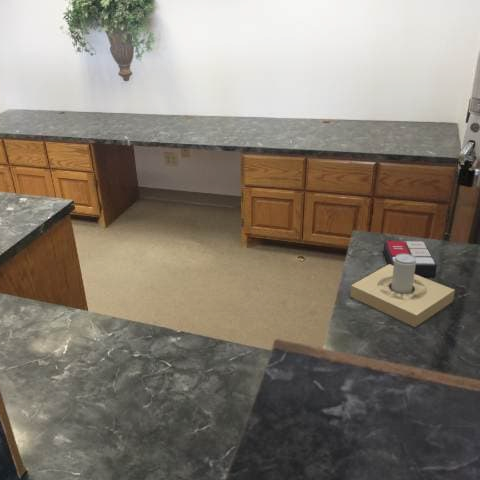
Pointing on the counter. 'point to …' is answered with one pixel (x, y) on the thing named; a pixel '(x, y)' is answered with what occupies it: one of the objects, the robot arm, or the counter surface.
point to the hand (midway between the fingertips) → (476, 179)
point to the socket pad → (402, 296)
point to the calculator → (416, 249)
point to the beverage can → (403, 273)
